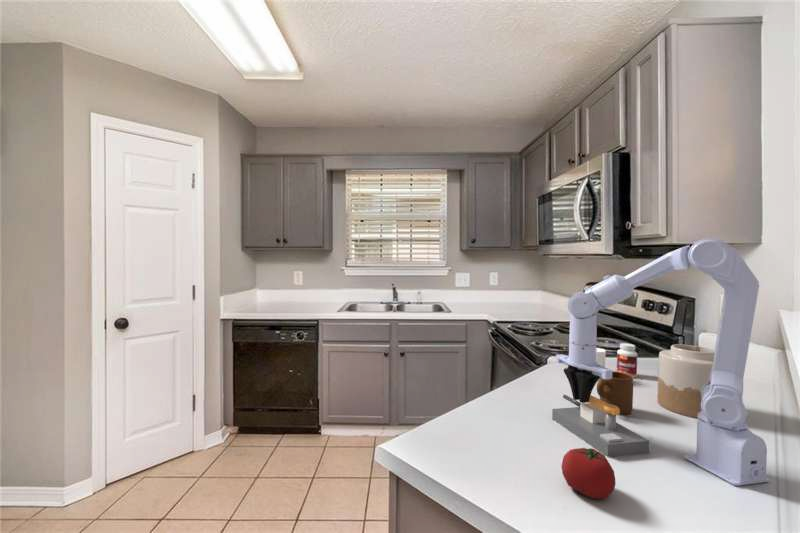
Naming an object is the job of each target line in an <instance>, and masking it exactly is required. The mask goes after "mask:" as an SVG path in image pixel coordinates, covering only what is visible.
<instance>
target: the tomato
mask: <svg viewBox="0 0 800 533" xmlns="http://www.w3.org/2000/svg"><path fill="white" fill-rule="evenodd" d="M561 470H562V471H561V472H562V475H563V478H564V480H565V481H566V484H567V486H568V487H570V488H571V489H572V490H574V491H577V492H579V493H581V494H582V495H583V496H586V497H588V498H589V499H596V500H597V499H598V500H604V499H606V498H608V497H609V496H610V495H611V494H612V493H613V492H614V490H615V487H616V483H617V482H616V477H615V471H614V469H613V467H612V465H611V463H610V462H609V460H608V459H607V456H606V455H604V454H603V453H601V452H600V451H598V450H597V449H595V448H592V447H591V448H585V447H578V448H573V449H569V450H568V451H567V452H566V453H565V454H564V455H563V458H562V462H561Z"/></svg>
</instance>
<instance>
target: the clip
mask: <svg viewBox="0 0 800 533" xmlns="http://www.w3.org/2000/svg"><path fill="white" fill-rule="evenodd" d="M588 403H591V404H593V405H595V406H597V407H599V408H601V409H603V410H604V412H606V413H609V414H613V415H616V416H617V415H621V414H620V409H619V408H618V407H617V406H615V405H612V404H608V403H606V402H604V401H602V400H600V398H598V397H595V396H594V395H592V394H591V395H590V398H589V402H588Z"/></svg>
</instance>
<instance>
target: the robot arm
mask: <svg viewBox="0 0 800 533" xmlns="http://www.w3.org/2000/svg"><path fill="white" fill-rule="evenodd" d="M690 265H691V266H692V267H693V268H695V269H697V271H700V272H702V273H704V274H707V275H708V276H710V277H712V279H713V280H714V281H715V282H716V283H717V284H719V285H720V286H721V287H722V288H723V290H724V293H723V297H722V298H723V299H722V304H721V309H720V310H721V311H720V315H719V316H720V317H719V323H718V328H717V329H718V330H717V335H716V341H715V346H714V350H715V352H714V358H713V364H712V369H711V373H710V378H709V381H708V382H707V384H705V385H704V386H703V388H702V390H701V398H702V401H701V409H702V411H700V412H698V414H697V418H696V420H697V422H696V452H695V453H696V454H695V453H694V454H686V455H683V456H684V459H685V460H687V461H689V462H691V463H692V464H695V465H697V466H698V467H700V468H702V469H704V470H706V471H708V472H709V473H711V474H713V475H715V476H717V477H719V478H720V479H722V480H724V481H726V482H728V483H730V484H732V485H733V486H745V485H746V486H747V485H751V484H754V485H755V484H761V483H768V482H770V478H768V477H767V459H768V458H767V456H768V455H767V453H768V450H767V449H768V448H767V444H766V442H765V440H764V438H762V437H761V436H759V435H757V434H755V433H753V432H752V430H750V429H749V428H748V426H749V425H748V423H747V421H746V419H747V418H748V417H747V416H748V413H747V412H748V411H747V408H746V406H745V405H744V402H743V395H744V378H745V377H744V375H745V372H746V364H747V360H748V359H747V358H748V354H749V348H750V342H751V337H752V336H751V335H752V331H753V330H752V329H753V324H754V320H755V313H756V307H757V301H758V295H759V291H760V290H759V289H760V282H759V280H758V278H757V276H756V275H755V274H754V273H753V271H752V270H751V268H750V267H749V266H748V264H747V263H746V261H745V260H744V259H743V257H742V255H741V253H740V252H739V251H738V250H737V249H735V248H734V247H733V246H731V245H730V244H728V243H726V242H725V241H724V240H721V239H718V238H709V237H708V238H704V239H700V240H697V241H696V242H694V243H693V244H692V245H691V246H690V244H687V245H685V246H682V247H680V248H677V249H675V250H672V251H669V252H667V253H665V254H663V255H662V256H660V257H658V258H656V259H655V260H652V261H650V262H649V263H647V264H646V265H644V266H641V267H640V268H637V269H635V270H634V271H632V272H630V273H629V274H626V275H625V276H623V275H619V274H613V275H610V274H609V275H605V276H604V277H602V279H603V280H602V281H600V282H598V283H596V284H594V285H592V286H586V287H584V288H583V291H584V292H580V291H579V292H575V293H574V294H573V295H572V296H570V297H569V299H568V302H567V309H568V311H569V313H570V316H569V317H570V318H569V336H568V338H569V339H568V341H569V342H568V355H566V354H562V353H561V354H559V353H558V354H555V363H557V364H563V365H566V366H567V367H566V368H565V367H564V368H563V373H564V374H565V376H566V378H567V380H568V384H569V386H570V389H571V394H572V399H574V400H576V401H578V402H580V403H581V404H582V403H589V398H590V395H591V396H592V393H593V392H592V391H593V389H594V387H595V386H596V385H597V383H598V380H599V378H600V377H602V378H603V379H605V380H606V379H612V371H613V370H612V369H611V368H607V367H603V366H601V365H599V364H597V361H596V348H597V336H598V335H597V332H598V330H597V329H598V328H597V327H598V325H597V314H598V313H599V311H600V310H605V309H607V308H610V307H612V306H614V305H616V304H618V303H621V302H622V301H625V300H627V299H629V298H631V297H632V294H633V290H634V289H635V288H637V287H640V286H641V285H644V284H646V283H649V282H650V281H653V280H655V279H657V278H659V277H661V276H664V275H667V274H669V273H670V272H674V271H676V272H677V271H689V270H691V268H690Z"/></svg>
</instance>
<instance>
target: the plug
mask: <svg viewBox="0 0 800 533" xmlns="http://www.w3.org/2000/svg"><path fill="white" fill-rule="evenodd" d="M562 398H563V399H564V400H566V401H568V402H570V403H571V404H574V406H577V407H580V410H581V412H580V416H581V417H583V418H584V419H586V420H588V421H589V422H591V423H605V417H606V412H604V410H603V409H601V408H599V407H597V406H595V405H593V404H591V403H589V402H586V403H581V402H580V401H579V400H574V399H573V397H570V396H568V395H567V394H563V396H562Z"/></svg>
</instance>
